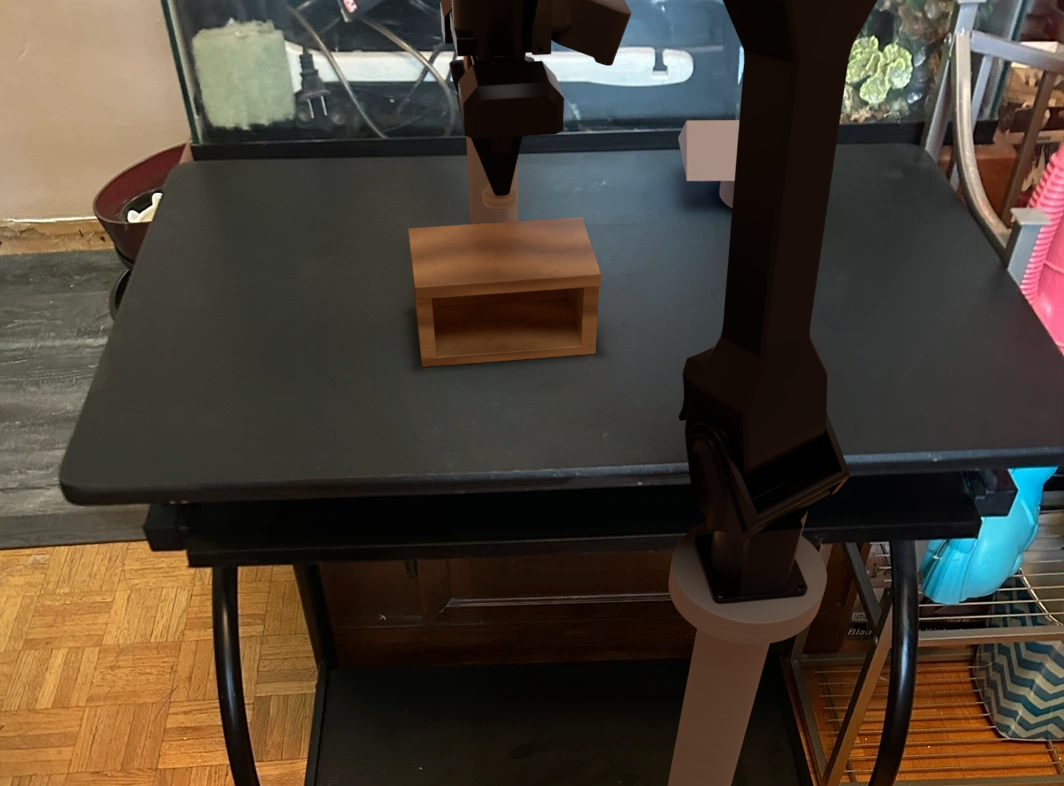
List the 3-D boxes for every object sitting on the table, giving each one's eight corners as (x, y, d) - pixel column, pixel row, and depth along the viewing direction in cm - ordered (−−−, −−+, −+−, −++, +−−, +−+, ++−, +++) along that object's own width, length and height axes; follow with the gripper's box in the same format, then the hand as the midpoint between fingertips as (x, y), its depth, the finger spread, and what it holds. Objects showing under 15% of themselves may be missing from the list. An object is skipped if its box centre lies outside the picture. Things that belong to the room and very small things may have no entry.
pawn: (475, 199, 76) (473, 141, 72) (506, 191, 76) (505, 133, 73) (492, 214, 74) (491, 156, 71) (523, 205, 75) (523, 147, 72)
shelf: (596, 357, 82) (601, 274, 77) (422, 370, 81) (414, 287, 76) (578, 298, 88) (582, 216, 82) (415, 310, 87) (407, 228, 81)
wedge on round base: (682, 217, 96) (820, 217, 96) (691, 141, 91) (837, 141, 91) (674, 174, 102) (804, 173, 102) (682, 100, 97) (819, 99, 97)
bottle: (526, 243, 94) (525, -16, 78) (482, 253, 92) (471, -7, 77) (507, 222, 96) (502, -33, 80) (464, 231, 95) (450, -25, 79)
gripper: (656, -29, 57) (633, 245, 69) (598, -123, 69) (587, 127, 81) (458, -20, 56) (470, 256, 69) (432, -116, 68) (447, 135, 80)
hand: (500, 188), depth 75 cm, fingers closed on pawn, 2 cm apart
